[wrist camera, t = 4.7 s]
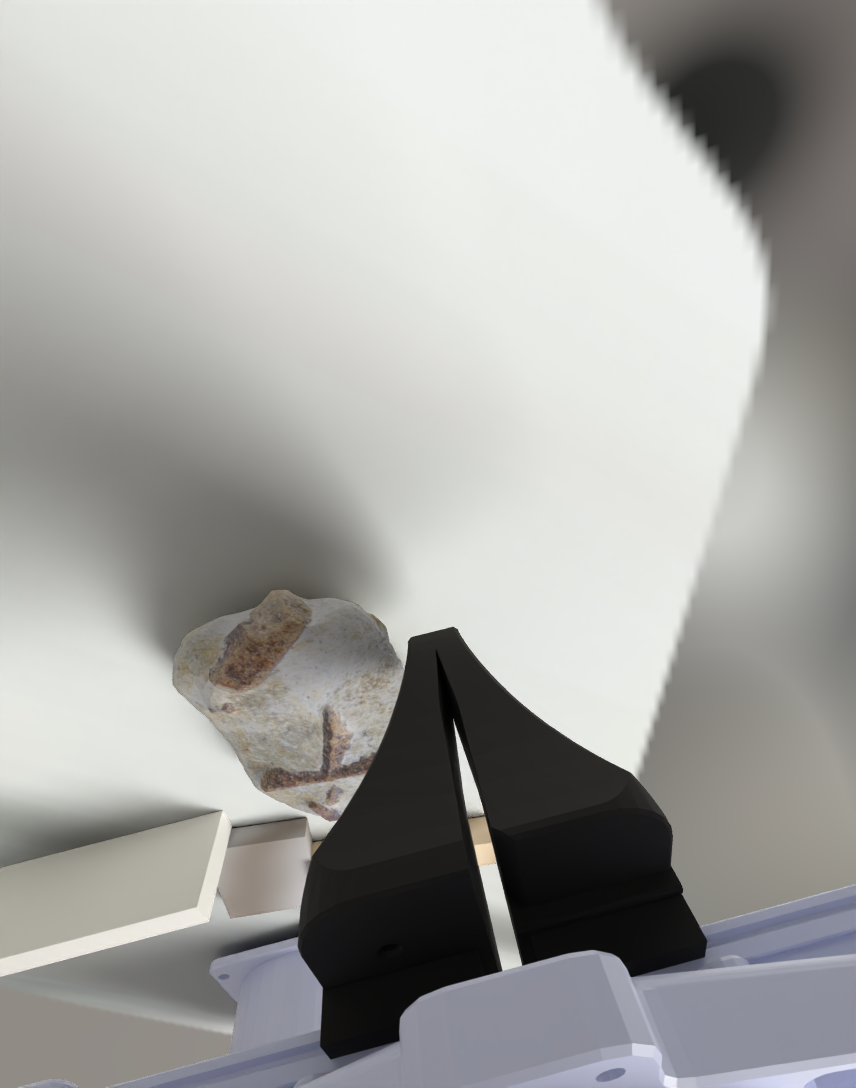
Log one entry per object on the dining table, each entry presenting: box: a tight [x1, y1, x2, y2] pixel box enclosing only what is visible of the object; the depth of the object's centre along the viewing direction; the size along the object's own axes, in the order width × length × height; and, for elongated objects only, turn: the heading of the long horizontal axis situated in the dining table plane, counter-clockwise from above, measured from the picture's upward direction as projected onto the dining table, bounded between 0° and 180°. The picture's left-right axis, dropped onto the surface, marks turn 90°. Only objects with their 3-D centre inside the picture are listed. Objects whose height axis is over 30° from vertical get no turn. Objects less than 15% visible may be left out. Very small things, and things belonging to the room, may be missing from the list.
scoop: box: [217, 816, 496, 919], centre depth 21 cm, size 12×5×1 cm, turn 92°
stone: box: [172, 590, 404, 822], centre depth 15 cm, size 10×7×3 cm
